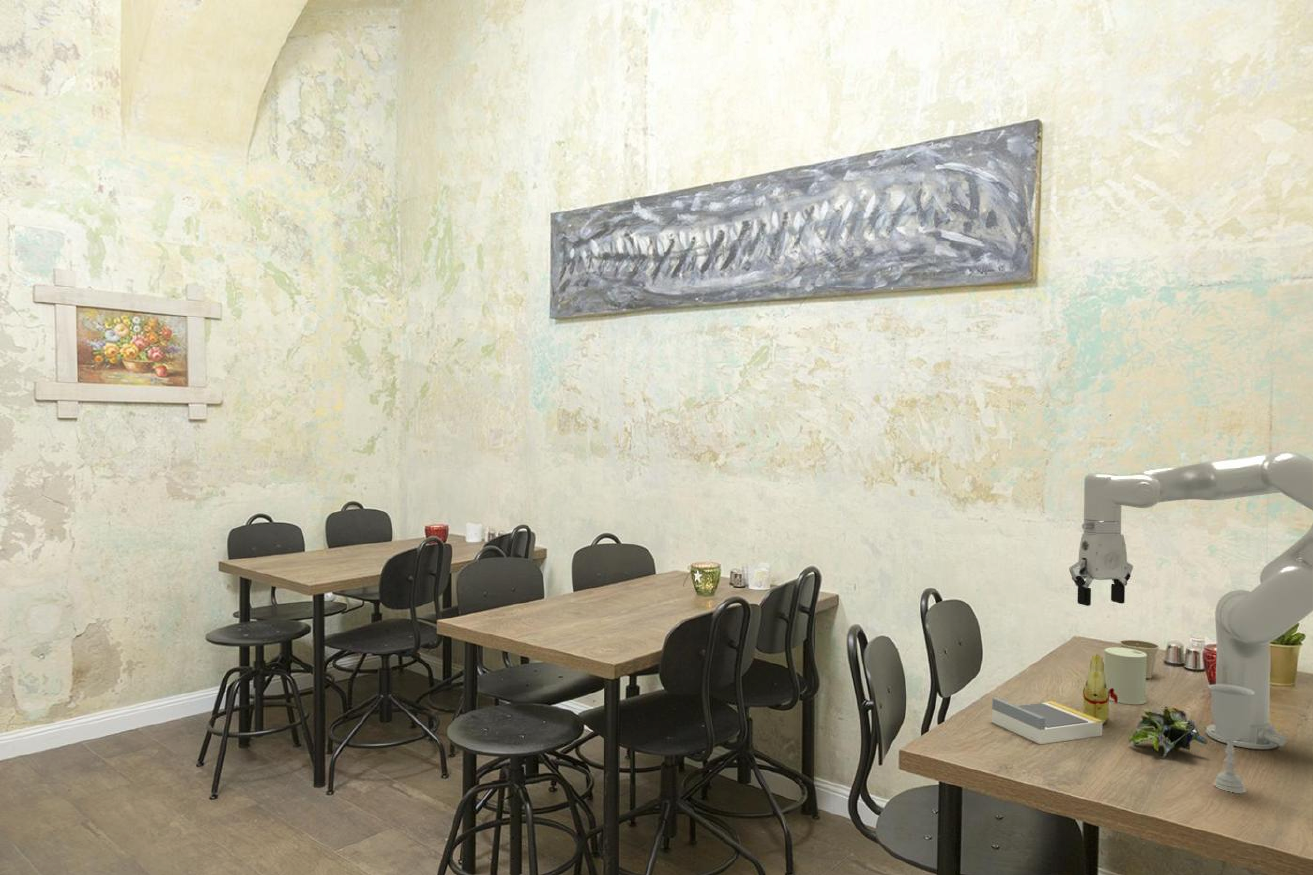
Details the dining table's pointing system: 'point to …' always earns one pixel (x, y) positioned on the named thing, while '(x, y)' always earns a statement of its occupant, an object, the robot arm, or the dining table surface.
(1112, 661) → the can
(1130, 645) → the flower pot
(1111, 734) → the dining table surface
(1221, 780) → the chalice
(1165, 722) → the leafy plant
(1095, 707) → the chocolate bunny
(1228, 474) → the robot arm
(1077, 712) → the dock
